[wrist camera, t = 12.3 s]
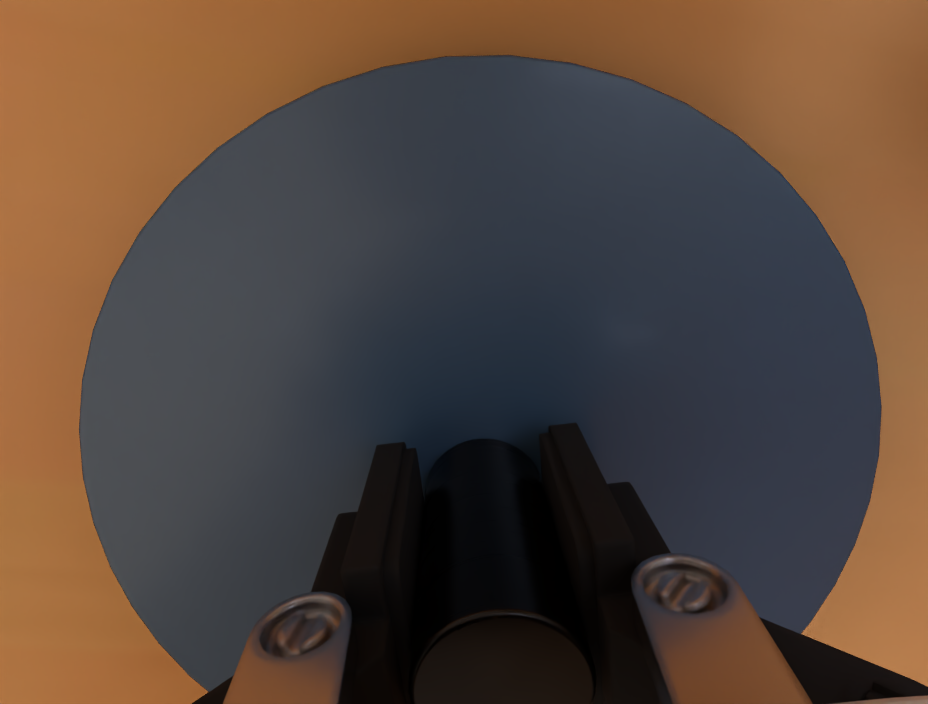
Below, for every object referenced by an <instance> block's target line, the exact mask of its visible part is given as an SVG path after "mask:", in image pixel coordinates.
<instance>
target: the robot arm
mask: <svg viewBox="0 0 928 704" xmlns="http://www.w3.org/2000/svg"><path fill="white" fill-rule="evenodd" d="M539 445H540V457H541V469H542V480H543V488H544V492H545V495H546V499H547V502H548V506H549V509H550V513H551V516H552V520H553V523H554V527H555V530H556V534H557V537H558V541H559V544H560V548H561V551H562V555H563V558H564V561H565V565H566V568H567V572H568V575H569V579H570V582H571V586H572V589H573V593H574V596H575V600H576V603H577V607H578V610H579V614H580V617H581V621H582V624H583V627H584V630H585V634H586V637H587V641H588V644H589V648H590V651H591V655H592V658H593V662H594V665H595V669H596V677H597V682H596V691H595V696H594V701H593V704H928V687H926V686H924V685H922V684H920V683H918V682H916V681H914V680H912V679H910V678H907V677H905V676H902V675H900V674H897V673H895V672H892V671H890V670H888V669H885V668H883V667H880V666H878V665H875V664H873V663H870V662H868V661H865V660H863V659H861V658H858V657H856V656H853V655H851V654H848V653H846V652H843V651H841V650H838V649H836V648H834V647H831V646H829V645H826V644H824V643H821V642H819V641H816V640H814V639H812V638H809V637H807V636H804V635H802V634H799V633H797V632H794V631H792V630H789V629H787V628H785V627H782V626H780V625H777V624H775V623H772V622H770V621H767V620H765V619H763V618H760V617H759V616H758V614H757V613H756V611H755V610H754V608H753V606H752V605H751V603H750V602H749V600H748V598H747V597H746V595H745V594H744V592H743V590H742V589H741V587H740V585H739V584H738V582H737V581H736V580H735V578H734V577H733V576H732V575H731V574H730V573H729V572H728V571H727V570H726V569H724V568H723V567H721V566H720V565H718V564H717V563H715V562H713V561H710V560H708V559H705V558H702V557H700V556H695V555H690V554H685V553H671V552H670V550H669V548H668V547H667V545H666V543H665V542H664V540H663V538H662V536H661V535H660V533H659V531H658V529H657V528H656V526H655V524H654V522H653V521H652V519H651V517H650V515H649V514H648V512H647V510H646V508H645V507H644V505H643V503H642V502H641V500H640V498H639V496H638V495H637V493H636V491H635V489H634V488H633V486H632V485H631V483H630V482H619V483H610V484H607V483H606V481H605V479H604V477H603V475H602V473H601V471H600V469H599V467H598V465H597V463H596V461H595V459H594V457H593V455H592V453H591V451H590V449H589V447H588V445H587V443H586V441H585V438H584V436H583V434H582V432H581V430H580V428H579V426H578V424H577V423H567V424H558V425H549V427H548V433H542V434H539ZM424 504H425V501H424V495H423V488H422V481H421V475H420V468H419V462H418V455H417V450H416V448H409V449H407V447H406V444H405V442H398V443H389V444H380V445H377V446H376V449H375V453H374V456H373V460H372V463H371V467H370V470H369V474H368V477H367V481H366V484H365V487H364V491H363V494H362V498H361V501H360V505H359V508H358V511H357V512H348V513H340V514H338V516H337V518H336V520H335V523H334V526H333V529H332V532H331V535H330V538H329V540H328V543H327V546H326V549H325V552H324V555H323V558H322V561H321V564H320V567H319V569H318V572H317V575H316V578H315V581H314V584H313V587H312V590H311V592H308V593H304V594H300V595H296V596H293V597H291V598H289V599H286V600H284V601H282V602H280V603H278V604H277V605H275V606H274V607H272V608H271V609H269V610H268V611H267V612H266V613H265V614H264V615H263V616H262V617H261V618H260V619H259V620H258V621H257V622H256V624H255V626H254V627H253V629H252V631H251V632H250V635H249V637H248V640H247V642H246V645H245V648H244V650H243V653H242V655H241V658H240V660H239V663H238V666H237V668H236V671H235V673H234V675H233V676H232V677H230V678H229V679H227V680H226V681H224V682H223V683H221V684H220V685H219V686H217V687H216V688H214V689H213V690H211V691H210V692H208V693H207V694H205V695H204V696H202V697H201V698H199V699H198V700H196V701H195V702H194V703H192V704H411V702H410V697H409V690H408V681H409V670H410V659H411V648H412V637H413V626H414V615H415V604H416V593H417V582H418V571H419V559H420V548H421V537H422V526H423V515H424Z"/></svg>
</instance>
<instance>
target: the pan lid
mask: <svg viewBox="0 0 928 704" xmlns="http://www.w3.org/2000/svg"><path fill="white" fill-rule="evenodd" d="M567 423H577V424H578V426H579V428H580V430H581V432H582V434H583V436H584V438H585V441H586V443H587V445H588V447H589V449H590V451H591V453H592V455H593V457H594V459H595V461H596V463H597V465H598V467H599V469H600V471H601V473H602V475H603V477H604V479H605V481H606V483H607V484H610V483H619V482H630V483H631V485H632V486H633V488H634V489H635V491H636V493H637V495H638V496H639V498H640V500H641V502H642V503H643V505H644V507H645V508H646V510H647V512H648V514H649V515H650V517H651V519H652V521H653V522H654V524H655V526H656V528H657V529H658V531H659V533H660V535H661V536H662V538H663V540H664V542H665V543H666V545H667V547H668V548H669V550H670V552H671V553H685V554H690V555H695V556H700V557H702V558H705V559H708V560H710V561H713V562H715V563H717V564H718V565H720V566H721V567H723V568H724V569H726V570H727V571H728V572H729V573H730V574H731V575H732V576H733V577H734V578H735V580H736V581H737V582H738V584H739V585H740V587H741V589H742V590H743V592H744V594H745V595H746V597H747V598H748V600H749V602H750V603H751V605H752V606H753V608H754V610H755V611H756V613H757V614H758V616H759V617H760V618H763V619H765V620H767V621H770V622H772V623H775V624H777V625H780V626H782V627H785V628H787V629H789V630H792V631H794V632H797V633H799V634H801V633H802V632H803V630H804V629H805V628H806V627H807V626H808V625H809V623H810V622H811V621H812V619H813V618H814V616H815V614H816V613H817V611H818V610H819V608H820V607H821V605H822V604H823V602H824V601H825V599H826V598H827V596H828V595H829V593H830V592H831V590H832V589H833V587H834V586H835V584H836V582H837V580H838V578H839V576H840V574H841V572H842V570H843V568H844V566H845V564H846V562H847V560H848V558H849V556H850V554H851V552H852V550H853V548H854V546H855V543H856V540H857V537H858V534H859V532H860V529H861V526H862V523H863V520H864V517H865V514H866V511H867V508H868V505H869V502H870V498H871V493H872V488H873V483H874V478H875V473H876V468H877V462H878V457H879V445H880V426H881V397H880V386H879V376H878V365H877V357H876V353H875V349H874V345H873V341H872V337H871V333H870V329H869V325H868V321H867V317H866V313H865V309H864V307H863V304H862V302H861V299H860V297H859V295H858V292H857V290H856V288H855V285H854V283H853V280H852V278H851V276H850V273H849V271H848V268H847V266H846V264H845V261H844V260H843V258H842V256H841V255H840V253H839V252H838V250H837V248H836V247H835V245H834V243H833V242H832V240H831V239H830V237H829V235H828V234H827V232H826V230H825V229H824V227H823V225H822V224H821V222H820V221H819V219H818V217H817V216H816V214H815V213H814V212H813V211H812V210H811V208H810V207H809V206H808V205H807V204H806V203H805V201H804V200H803V199H802V198H801V197H800V196H799V194H798V193H797V192H796V191H795V190H794V188H793V187H792V186H791V185H790V184H789V183H788V181H787V180H786V179H785V178H784V177H783V175H782V174H781V173H780V172H779V171H778V170H776V169H775V168H774V167H773V166H772V165H771V164H770V163H768V162H767V161H766V160H765V159H764V158H763V157H761V156H760V155H759V154H758V153H757V152H756V151H755V150H753V149H752V148H751V147H750V146H749V145H748V144H747V143H745V142H744V141H743V140H742V139H741V138H740V137H738V136H737V135H736V134H734V133H733V132H731V131H729V130H728V129H726V128H725V127H723V126H722V125H720V124H718V123H717V122H715V121H714V120H712V119H711V118H709V117H707V116H706V115H704V114H703V113H701V112H699V111H698V110H696V109H695V108H693V107H692V106H690V105H688V104H687V103H684V102H682V101H680V100H678V99H675V98H673V97H671V96H669V95H666V94H664V93H662V92H660V91H657V90H655V89H653V88H650V87H648V86H646V85H644V84H641V83H639V82H637V81H635V80H632V79H629V78H626V77H622V76H618V75H615V74H611V73H607V72H604V71H600V70H596V69H593V68H589V67H585V66H582V65H578V64H575V63H570V62H562V61H554V60H546V59H538V58H529V57H521V56H513V55H485V56H445V57H439V58H433V59H427V60H421V61H415V62H409V63H403V64H397V65H391V66H385V67H381V68H378V69H375V70H371V71H368V72H365V73H362V74H359V75H356V76H353V77H350V78H347V79H343V80H340V81H337V82H334V83H331V84H328V85H325V86H322V87H320V88H318V89H316V90H314V91H312V92H310V93H308V94H306V95H304V96H302V97H300V98H298V99H296V100H294V101H292V102H289V103H287V104H285V105H283V106H281V107H279V108H277V109H275V110H273V111H271V112H269V113H267V114H266V115H264V116H263V117H261V118H260V119H258V120H257V121H256V122H254V123H253V124H251V125H250V126H248V127H247V128H245V129H244V130H242V131H241V132H240V133H238V134H237V135H235V136H234V137H232V138H231V139H229V140H228V141H226V142H225V143H224V144H222V145H221V146H219V147H218V148H217V149H216V150H215V151H213V152H212V153H211V154H210V155H209V156H208V157H207V158H206V159H205V160H204V161H203V162H202V163H201V164H200V165H198V166H197V167H196V168H195V169H194V170H193V171H192V172H191V173H190V174H189V175H188V176H187V177H186V178H185V179H183V180H182V181H181V182H180V183H179V184H178V185H177V186H176V187H175V188H174V189H173V190H172V192H171V193H170V194H169V196H168V197H167V198H166V199H165V201H164V202H163V203H162V204H161V206H160V207H159V208H158V209H157V211H156V212H155V213H154V215H153V216H152V217H151V218H150V220H149V221H148V222H147V223H146V225H145V226H144V227H143V228H142V230H141V231H140V232H139V234H138V236H137V238H136V239H135V241H134V243H133V245H132V246H131V248H130V250H129V252H128V253H127V255H126V257H125V259H124V260H123V262H122V264H121V266H120V267H119V269H118V271H117V273H116V274H115V276H114V278H113V280H112V282H111V285H110V287H109V290H108V293H107V295H106V298H105V300H104V303H103V306H102V308H101V311H100V313H99V316H98V319H97V321H96V324H95V326H94V329H93V333H92V337H91V342H90V347H89V351H88V356H87V360H86V365H85V370H84V374H83V379H82V391H81V407H80V422H79V435H80V447H81V459H82V471H83V480H84V484H85V488H86V493H87V497H88V501H89V506H90V510H91V514H92V518H93V523H94V526H95V528H96V531H97V534H98V536H99V539H100V541H101V544H102V547H103V549H104V552H105V554H106V557H107V560H108V562H109V565H110V567H111V569H112V571H113V573H114V574H115V576H116V578H117V580H118V582H119V584H120V585H121V587H122V589H123V591H124V593H125V595H126V596H127V598H128V600H129V602H130V604H131V606H132V607H133V609H134V610H135V611H136V613H137V614H138V615H139V617H140V618H141V620H142V621H143V622H144V624H145V625H146V626H147V628H148V629H149V630H150V632H151V633H152V635H153V636H154V637H155V639H156V640H157V641H158V643H159V644H160V645H161V646H162V647H163V648H164V649H165V650H166V651H167V652H168V653H169V655H170V656H171V657H172V658H173V659H174V660H175V661H176V662H177V663H178V664H179V665H180V666H181V667H182V668H183V669H184V671H185V672H186V673H187V674H188V675H189V676H190V677H192V678H193V679H194V680H195V681H196V682H198V683H199V684H200V685H201V686H202V687H204V688H205V689H206V690H207V691H208V692H210V691H211V690H213V689H214V688H216V687H217V686H219V685H220V684H221V683H223V682H224V681H226V680H227V679H229V678H230V677H232V676H233V675H234V673H235V671H236V668H237V666H238V663H239V660H240V658H241V655H242V653H243V650H244V648H245V645H246V642H247V640H248V637H249V635H250V632H251V631H252V629H253V627H254V626H255V624H256V622H257V621H258V620H259V619H260V618H261V617H262V616H263V615H264V614H265V613H266V612H267V611H268V610H269V609H271V608H272V607H274V606H275V605H277V604H278V603H280V602H282V601H284V600H286V599H289V598H291V597H293V596H296V595H300V594H304V593H308V592H311V590H312V587H313V584H314V581H315V578H316V575H317V572H318V569H319V567H320V564H321V561H322V558H323V555H324V552H325V549H326V546H327V543H328V540H329V538H330V535H331V532H332V529H333V526H334V523H335V520H336V518H337V516H338V514H340V513H348V512H357V511H358V508H359V505H360V501H361V498H362V494H363V491H364V487H365V484H366V481H367V477H368V474H369V470H370V467H371V463H372V460H373V456H374V453H375V449H376V446H377V445H380V444H389V443H398V442H405V444H406V447H407V449H409V448H416V450H417V455H418V462H419V468H420V475H421V481H422V488H423V495H424V501H425V504H424V515H423V526H422V537H421V548H420V559H419V571H418V582H417V593H416V604H415V615H414V626H413V637H412V648H411V659H410V670H409V681H408V690H409V697H410V702H411V704H593V701H594V696H595V691H596V682H597V677H596V669H595V665H594V662H593V658H592V655H591V651H590V648H589V644H588V641H587V637H586V634H585V630H584V627H583V624H582V621H581V617H580V614H579V610H578V607H577V603H576V600H575V596H574V593H573V589H572V586H571V582H570V579H569V575H568V572H567V568H566V565H565V561H564V558H563V555H562V551H561V548H560V544H559V541H558V537H557V534H556V530H555V527H554V523H553V520H552V516H551V513H550V509H549V506H548V502H547V499H546V495H545V492H544V488H543V480H542V469H541V457H540V445H539V434H542V433H548V427H549V425H558V424H567Z"/></svg>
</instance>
